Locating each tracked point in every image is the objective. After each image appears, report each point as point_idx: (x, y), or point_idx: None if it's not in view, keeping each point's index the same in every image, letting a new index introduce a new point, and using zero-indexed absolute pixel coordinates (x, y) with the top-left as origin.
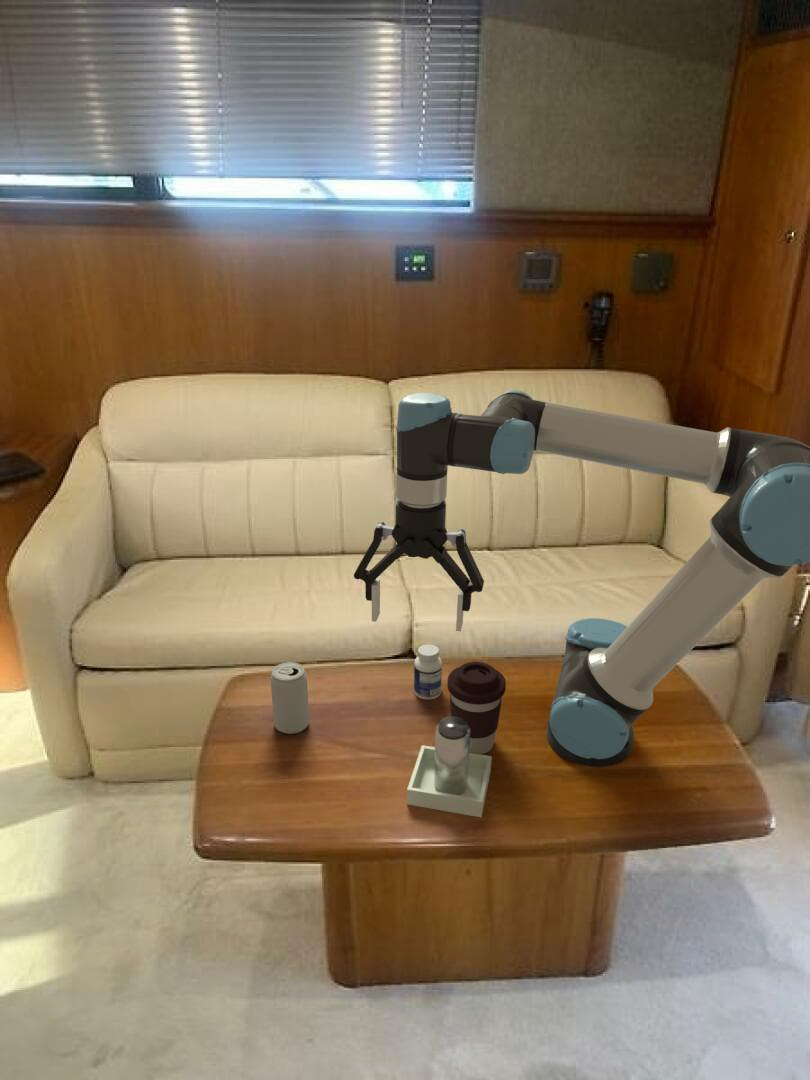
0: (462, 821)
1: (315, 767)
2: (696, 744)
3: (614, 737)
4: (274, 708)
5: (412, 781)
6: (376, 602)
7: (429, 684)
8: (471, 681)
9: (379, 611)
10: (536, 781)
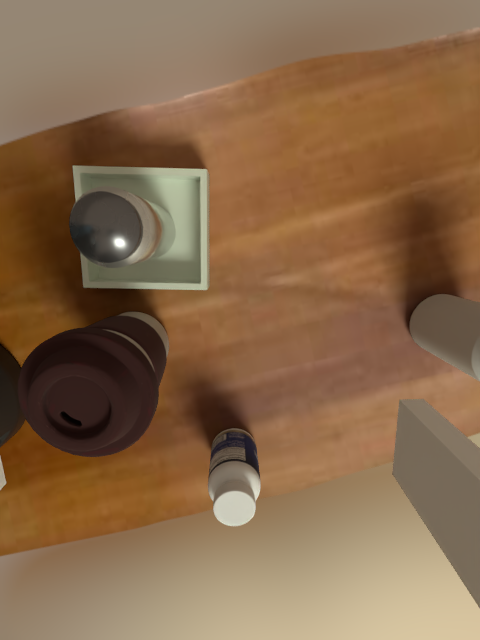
0: (114, 156)
1: (374, 229)
2: None
3: None
4: None
5: (202, 191)
6: (473, 479)
7: (226, 445)
8: (79, 369)
9: (400, 477)
10: (21, 275)
